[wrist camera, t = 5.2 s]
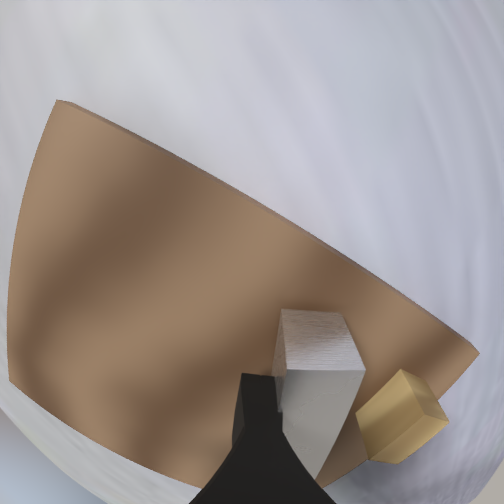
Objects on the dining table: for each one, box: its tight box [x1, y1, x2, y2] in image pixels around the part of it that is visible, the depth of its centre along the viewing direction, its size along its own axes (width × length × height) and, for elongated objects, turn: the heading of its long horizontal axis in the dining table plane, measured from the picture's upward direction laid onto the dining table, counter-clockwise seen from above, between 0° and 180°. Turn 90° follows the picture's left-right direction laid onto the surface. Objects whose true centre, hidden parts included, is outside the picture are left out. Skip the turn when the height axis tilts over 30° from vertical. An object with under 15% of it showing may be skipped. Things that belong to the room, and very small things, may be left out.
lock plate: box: [7, 100, 480, 489], centre depth 11 cm, size 21×17×4 cm
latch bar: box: [271, 309, 366, 480], centre depth 9 cm, size 11×3×4 cm, turn 175°
